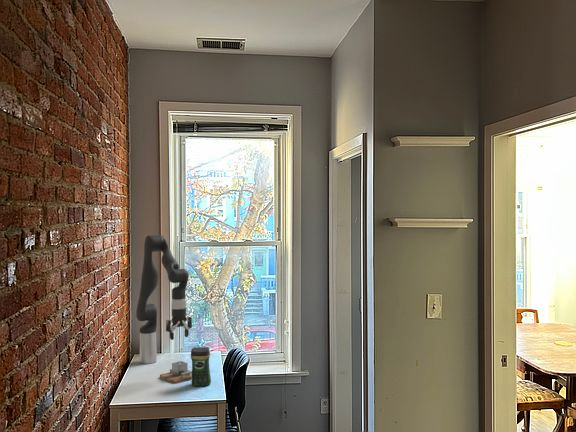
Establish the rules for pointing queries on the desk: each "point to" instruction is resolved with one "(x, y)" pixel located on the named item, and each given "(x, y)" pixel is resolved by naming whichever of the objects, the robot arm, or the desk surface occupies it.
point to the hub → (179, 368)
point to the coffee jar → (200, 366)
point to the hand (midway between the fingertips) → (179, 338)
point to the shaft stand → (175, 379)
